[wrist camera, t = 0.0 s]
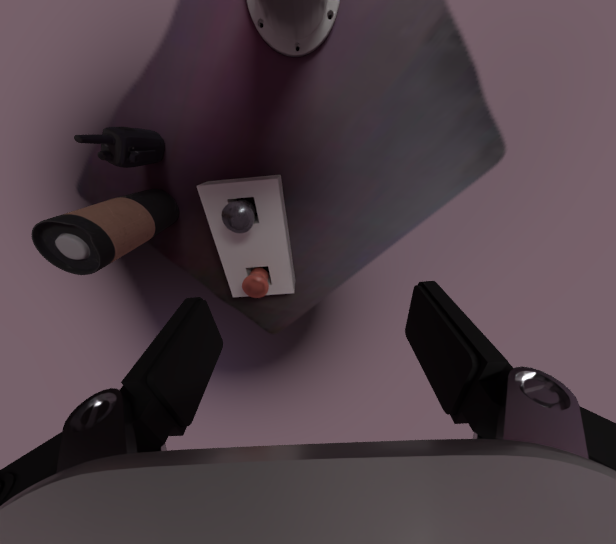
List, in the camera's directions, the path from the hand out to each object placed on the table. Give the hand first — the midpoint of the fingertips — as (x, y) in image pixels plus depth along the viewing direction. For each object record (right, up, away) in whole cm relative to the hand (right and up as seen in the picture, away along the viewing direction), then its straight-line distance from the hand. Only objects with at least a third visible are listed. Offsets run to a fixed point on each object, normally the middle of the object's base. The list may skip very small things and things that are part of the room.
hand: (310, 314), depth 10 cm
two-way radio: (-27, +24, +29) cm, 46 cm away
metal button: (-12, +13, +30) cm, 34 cm away
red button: (-11, +1, +37) cm, 38 cm away
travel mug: (-30, +15, +34) cm, 48 cm away
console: (-11, +10, +37) cm, 40 cm away
